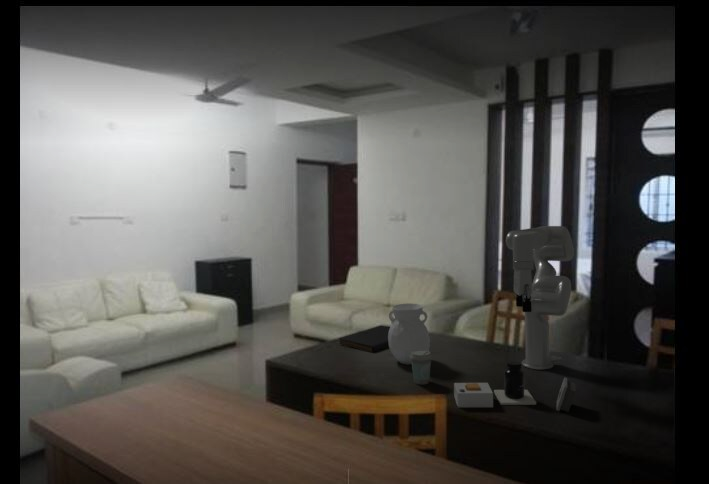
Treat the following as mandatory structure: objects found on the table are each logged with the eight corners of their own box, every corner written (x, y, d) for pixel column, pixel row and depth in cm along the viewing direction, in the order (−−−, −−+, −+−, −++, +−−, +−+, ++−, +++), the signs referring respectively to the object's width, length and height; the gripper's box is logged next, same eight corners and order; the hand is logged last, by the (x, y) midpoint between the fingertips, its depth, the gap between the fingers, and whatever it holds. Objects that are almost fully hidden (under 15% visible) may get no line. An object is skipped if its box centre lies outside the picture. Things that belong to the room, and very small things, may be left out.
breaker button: (477, 395, 181) (477, 383, 181) (479, 399, 177) (479, 387, 177) (466, 395, 181) (466, 383, 181) (468, 399, 178) (467, 387, 177)
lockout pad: (527, 391, 187) (527, 389, 187) (536, 404, 175) (536, 402, 175) (494, 391, 188) (493, 389, 188) (500, 404, 176) (500, 402, 176)
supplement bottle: (525, 399, 177) (525, 366, 176) (505, 398, 179) (504, 365, 178) (523, 392, 184) (522, 360, 183) (503, 391, 185) (503, 359, 185)
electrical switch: (556, 401, 177) (559, 375, 176) (572, 404, 175) (575, 378, 174) (556, 412, 169) (559, 385, 168) (573, 415, 167) (576, 388, 166)
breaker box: (487, 396, 184) (487, 381, 184) (493, 407, 174) (492, 391, 174) (454, 396, 185) (454, 381, 184) (457, 407, 175) (457, 392, 175)
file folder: (380, 324, 282) (415, 331, 265) (381, 332, 282) (415, 339, 265) (338, 337, 258) (373, 346, 241) (338, 345, 258) (374, 354, 242)
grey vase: (382, 366, 222) (381, 309, 220) (395, 353, 239) (394, 301, 237) (424, 369, 215) (423, 311, 213) (434, 357, 232) (433, 303, 230)
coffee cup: (418, 387, 195) (418, 356, 194) (406, 380, 202) (405, 351, 202) (436, 383, 199) (436, 353, 198) (424, 376, 206) (423, 348, 205)
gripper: (508, 262, 204) (508, 304, 205) (518, 268, 187) (519, 314, 188) (527, 262, 203) (527, 304, 205) (539, 267, 186) (539, 313, 187)
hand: (523, 309), depth 196 cm, fingers open, 9 cm apart
